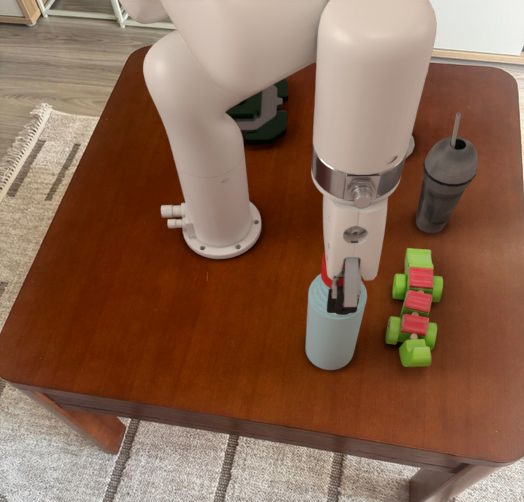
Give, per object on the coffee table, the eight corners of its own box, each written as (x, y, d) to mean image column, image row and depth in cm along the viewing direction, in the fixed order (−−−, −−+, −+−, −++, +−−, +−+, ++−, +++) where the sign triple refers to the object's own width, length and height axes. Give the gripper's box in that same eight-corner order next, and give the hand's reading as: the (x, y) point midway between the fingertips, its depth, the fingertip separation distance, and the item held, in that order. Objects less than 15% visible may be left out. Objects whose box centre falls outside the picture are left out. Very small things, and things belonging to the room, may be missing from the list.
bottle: (306, 370, 73) (311, 291, 55) (304, 327, 76) (308, 238, 58) (355, 369, 72) (377, 289, 54) (352, 326, 75) (371, 237, 57)
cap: (315, 264, 59) (316, 248, 56) (351, 255, 59) (354, 238, 56) (328, 295, 57) (330, 280, 54) (365, 285, 57) (369, 269, 55)
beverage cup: (452, 243, 81) (498, 138, 63) (404, 237, 82) (436, 132, 64) (454, 207, 84) (499, 97, 66) (408, 201, 85) (440, 92, 67)
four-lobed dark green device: (194, 83, 101) (190, 61, 97) (288, 82, 100) (288, 59, 95) (184, 151, 93) (179, 130, 88) (286, 150, 91) (286, 129, 87)
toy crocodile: (395, 257, 80) (403, 231, 75) (440, 263, 79) (451, 238, 74) (380, 372, 72) (387, 353, 66) (429, 381, 71) (441, 362, 65)
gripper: (415, 243, 39) (379, 350, 55) (394, 86, 47) (368, 220, 63) (314, 244, 39) (307, 350, 55) (309, 89, 47) (305, 221, 63)
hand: (339, 280), depth 59 cm, fingers open, 7 cm apart
